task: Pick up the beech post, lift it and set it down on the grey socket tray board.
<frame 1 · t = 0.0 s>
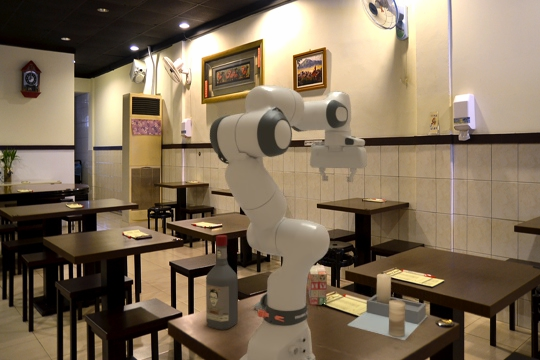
hand: (337, 181, 142), 48 cm above the table, tool pointing down, fingers open, 8 cm apart
ceramic mug: (268, 310, 154), on the table
grey socket tray board: (388, 323, 141), on the table
stack of blocks: (316, 296, 169), on the table
beech post: (396, 333, 130), point 1 cm above the table, touching grey socket tray board
liquor: (222, 324, 141), on the table
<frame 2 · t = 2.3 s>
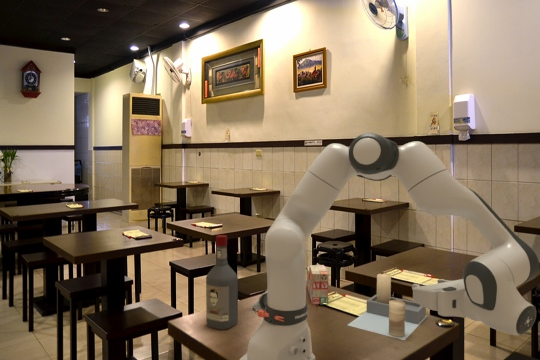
hand: (426, 284, 118), 20 cm above the table, tool horizontal, fingers open, 8 cm apart
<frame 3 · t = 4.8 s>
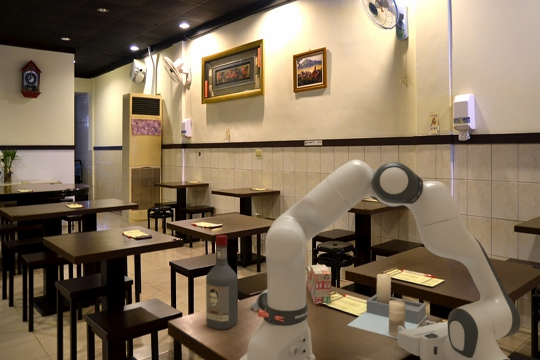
hand: (412, 325, 124), 6 cm above the table, tool horizontal, fingers open, 8 cm apart
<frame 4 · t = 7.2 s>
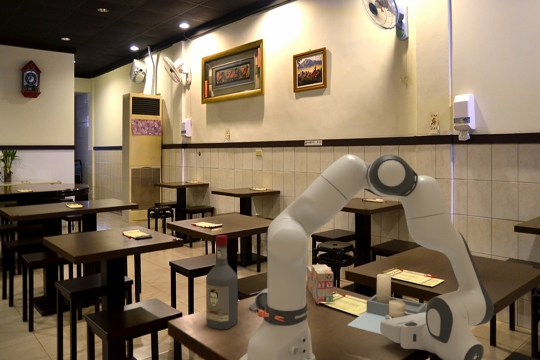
hand: (394, 315, 131), 7 cm above the table, tool horizontal, fingers closed on beech post, 5 cm apart
beech post: (396, 333, 130), point 1 cm above the table, touching grey socket tray board, gripper
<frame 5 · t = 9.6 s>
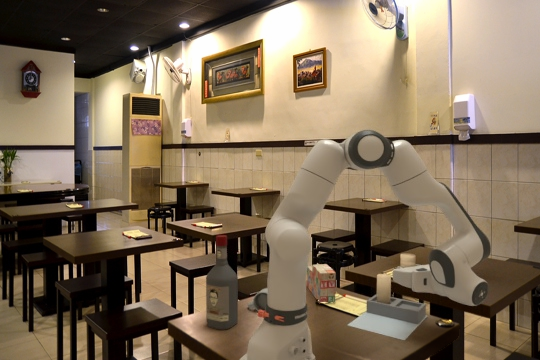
hand: (405, 267, 140), 19 cm above the table, tool horizontal, fingers closed on beech post, 5 cm apart
beech post: (407, 284, 139), point 14 cm above the table, touching gripper
when the fingers open (11 cm above the table, at t = 12.2 s): beech post drops 2 cm, resting on grey socket tray board.
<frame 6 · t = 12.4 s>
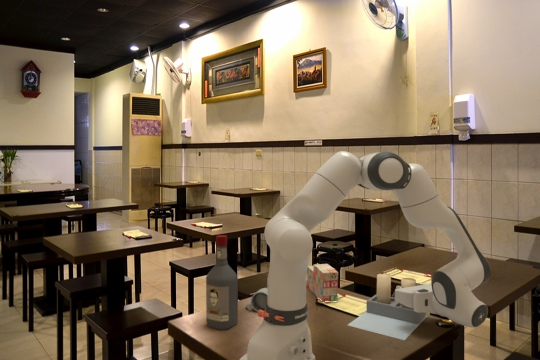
hand: (407, 286, 144), 11 cm above the table, tool horizontal, fingers open, 7 cm apart
beech post: (408, 308, 144), point 4 cm above the table, touching grey socket tray board
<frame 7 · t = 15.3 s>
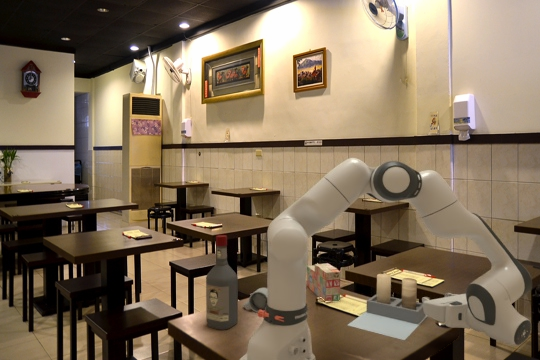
hand: (435, 297, 133), 12 cm above the table, tool horizontal, fingers open, 8 cm apart
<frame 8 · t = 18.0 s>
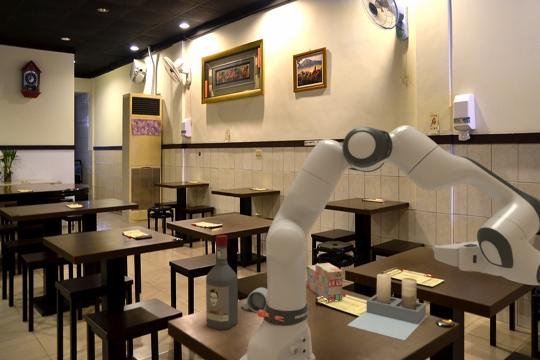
hand: (446, 245, 124), 30 cm above the table, tool horizontal, fingers open, 8 cm apart
at the end: beech post 0.1 cm from the target spot, point 4.0 cm above the table; beech post tilted 0°; the gripper is holding nothing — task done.
